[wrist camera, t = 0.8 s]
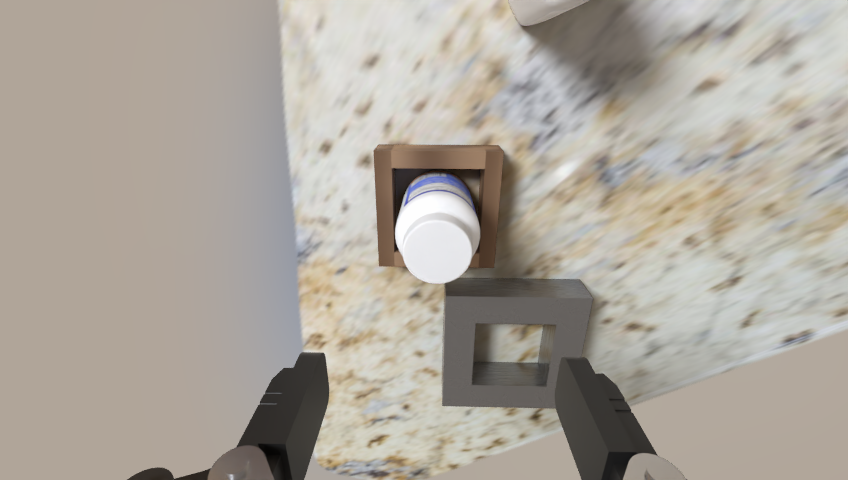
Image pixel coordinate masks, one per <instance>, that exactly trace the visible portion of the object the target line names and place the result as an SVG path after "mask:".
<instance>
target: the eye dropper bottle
mask: <svg viewBox="0 0 848 480" xmlns="http://www.w3.org/2000/svg"><path fill="white" fill-rule="evenodd" d="M588 1H590V0H508V3H509V5H510V7H511V9H512V11H513V13H514V15H515V17H516V19H517V21H518V23H519V24H520V25H523V26H529V25H534V24H538V23H541V22H544V21H546V20H549V19H551V18H553V17H556V16H558V15H560V14H562V13H564V12H566V11H569V10H571V9H573V8H575V7H577V6H579V5H581V4H584V3H586V2H588Z"/></svg>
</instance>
